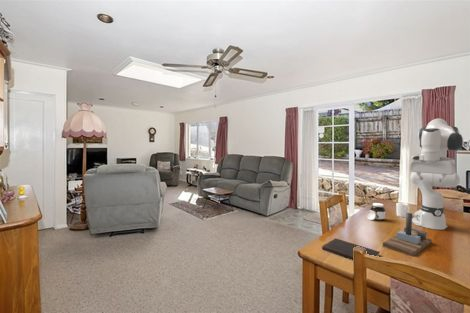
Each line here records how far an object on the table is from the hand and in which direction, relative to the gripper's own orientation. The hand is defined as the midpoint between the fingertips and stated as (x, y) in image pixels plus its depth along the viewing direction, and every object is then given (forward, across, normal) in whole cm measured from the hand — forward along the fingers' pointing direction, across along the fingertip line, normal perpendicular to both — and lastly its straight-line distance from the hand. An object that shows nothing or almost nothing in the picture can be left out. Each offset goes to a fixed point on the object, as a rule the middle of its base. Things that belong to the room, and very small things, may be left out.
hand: (431, 180), depth 132 cm
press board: (+35, +5, +17) cm, 39 cm away
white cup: (+38, +32, -40) cm, 64 cm away
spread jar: (+36, +38, -14) cm, 54 cm away
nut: (+33, +5, +10) cm, 35 cm away
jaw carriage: (+33, +5, +16) cm, 37 cm away
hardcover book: (+33, +16, +53) cm, 65 cm away
